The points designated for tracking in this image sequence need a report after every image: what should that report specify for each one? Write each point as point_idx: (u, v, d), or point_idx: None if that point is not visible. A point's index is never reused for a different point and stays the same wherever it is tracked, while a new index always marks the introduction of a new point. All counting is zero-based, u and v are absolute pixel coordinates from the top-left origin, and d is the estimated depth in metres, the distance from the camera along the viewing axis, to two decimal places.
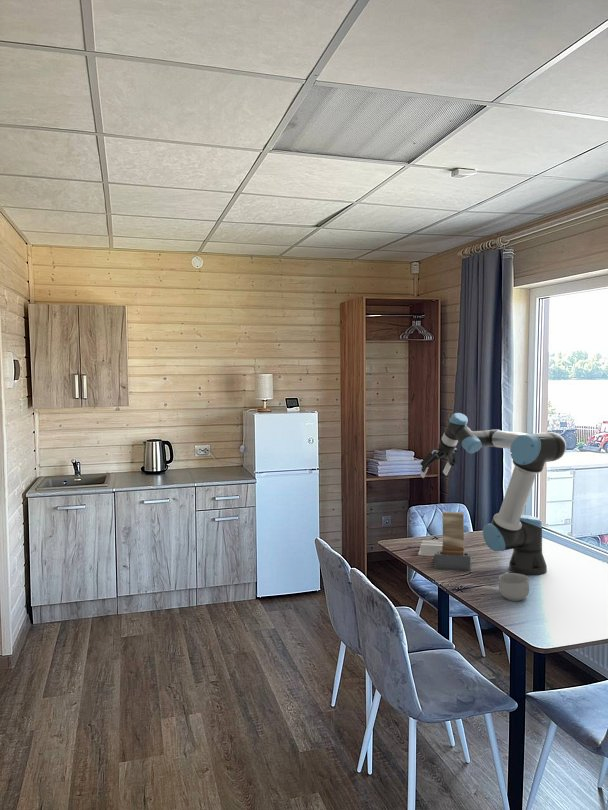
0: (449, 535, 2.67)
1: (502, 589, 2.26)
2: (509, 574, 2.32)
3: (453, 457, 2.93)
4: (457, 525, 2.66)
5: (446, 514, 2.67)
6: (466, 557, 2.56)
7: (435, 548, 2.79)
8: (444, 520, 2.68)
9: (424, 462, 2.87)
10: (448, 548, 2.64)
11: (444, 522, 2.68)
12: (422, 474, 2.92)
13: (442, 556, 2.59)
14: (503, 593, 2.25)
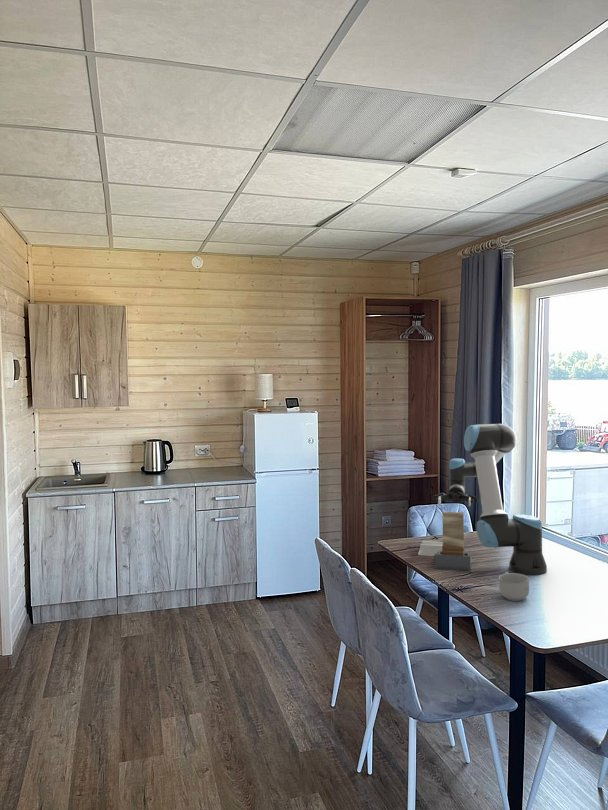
0: (449, 535, 2.67)
1: (502, 589, 2.26)
2: (509, 574, 2.32)
3: None
4: (457, 525, 2.66)
5: (446, 514, 2.67)
6: (466, 557, 2.56)
7: (435, 548, 2.79)
8: (444, 520, 2.68)
9: None
10: (448, 548, 2.64)
11: (444, 522, 2.68)
12: (438, 500, 2.80)
13: (442, 556, 2.59)
14: (503, 593, 2.25)
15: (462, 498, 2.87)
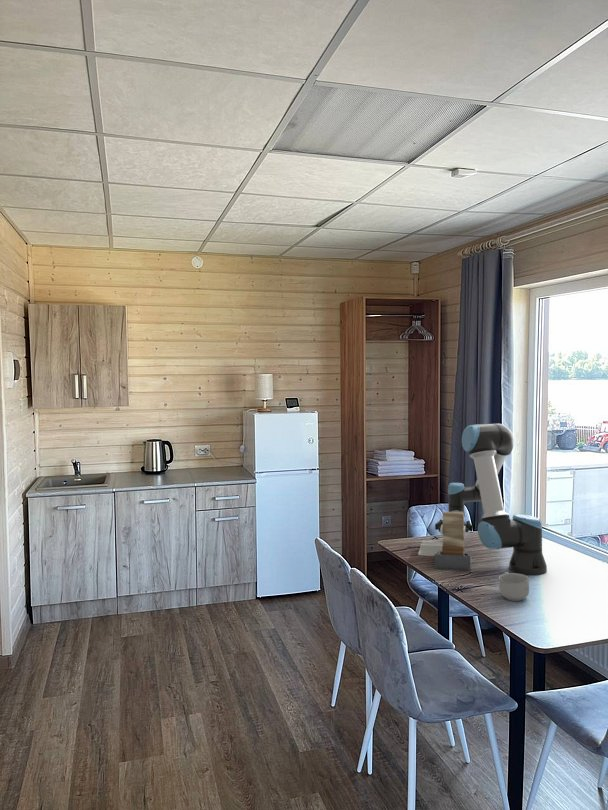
0: (449, 535, 2.67)
1: (502, 589, 2.26)
2: (509, 574, 2.32)
3: (468, 526, 2.72)
4: (457, 525, 2.66)
5: (446, 514, 2.67)
6: (466, 557, 2.56)
7: (435, 548, 2.79)
8: (444, 520, 2.68)
9: None
10: (448, 548, 2.64)
11: (444, 522, 2.68)
12: None
13: (442, 556, 2.59)
14: (503, 593, 2.25)
15: None
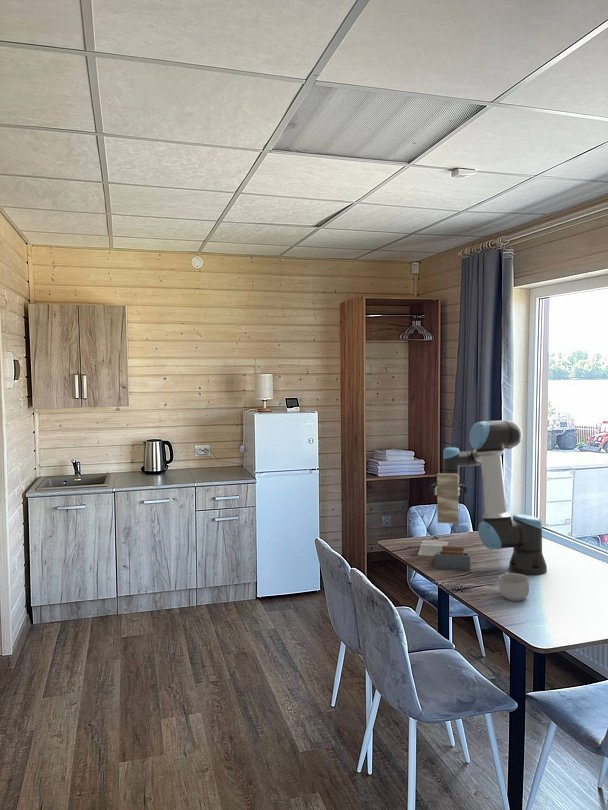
0: (443, 496, 2.70)
1: (502, 589, 2.26)
2: (509, 574, 2.32)
3: None
4: (451, 486, 2.69)
5: (441, 475, 2.70)
6: (466, 557, 2.56)
7: (435, 548, 2.79)
8: (439, 481, 2.71)
9: None
10: (448, 548, 2.64)
11: (439, 483, 2.71)
12: (435, 491, 2.69)
13: (442, 556, 2.59)
14: (503, 593, 2.25)
15: None
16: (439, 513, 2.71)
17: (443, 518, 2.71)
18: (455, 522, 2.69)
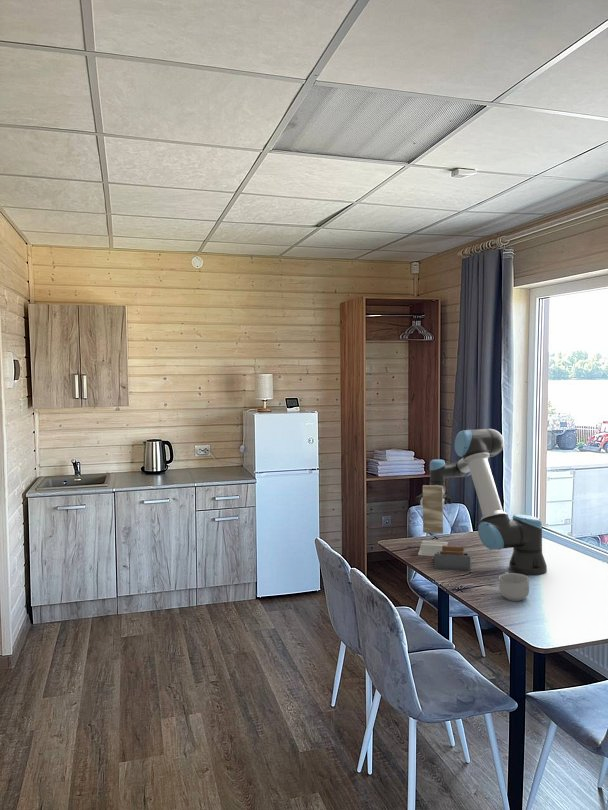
0: (428, 507, 2.82)
1: (502, 589, 2.26)
2: (509, 574, 2.32)
3: None
4: (436, 497, 2.80)
5: (426, 487, 2.81)
6: (466, 557, 2.56)
7: (435, 548, 2.79)
8: (424, 493, 2.82)
9: None
10: (448, 548, 2.64)
11: (424, 495, 2.82)
12: None
13: (442, 556, 2.59)
14: (503, 593, 2.25)
15: None
16: (424, 523, 2.82)
17: (428, 528, 2.82)
18: (440, 532, 2.81)
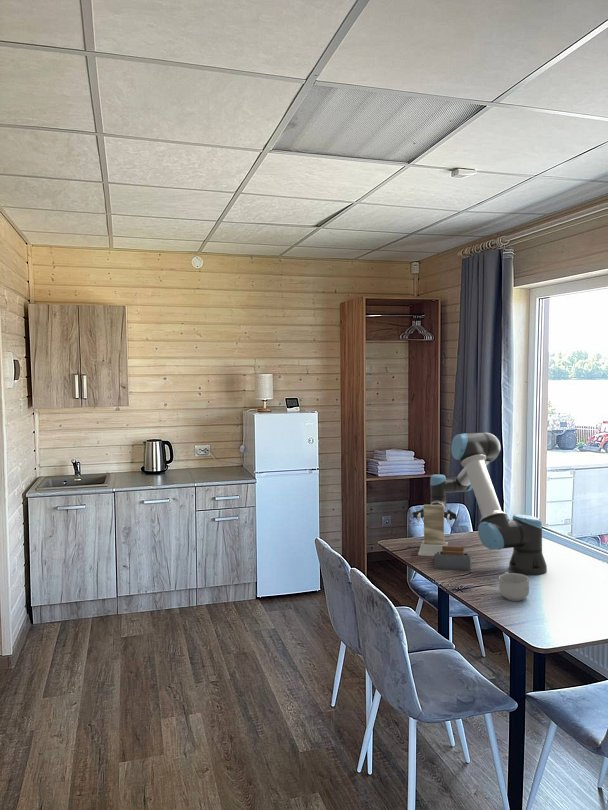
0: (429, 526, 2.81)
1: (502, 589, 2.26)
2: (509, 574, 2.32)
3: None
4: (437, 517, 2.80)
5: (427, 506, 2.81)
6: (466, 557, 2.56)
7: (435, 548, 2.79)
8: (425, 512, 2.82)
9: None
10: (448, 548, 2.64)
11: (425, 514, 2.82)
12: None
13: (442, 556, 2.59)
14: (503, 593, 2.25)
15: None
16: (426, 543, 2.82)
17: None
18: None
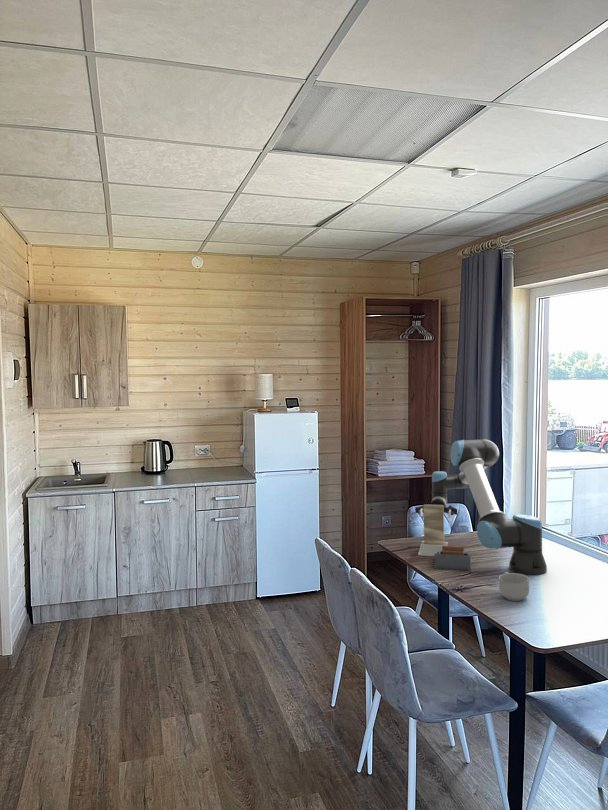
0: (429, 526, 2.81)
1: (502, 589, 2.26)
2: (509, 574, 2.32)
3: None
4: (437, 516, 2.80)
5: (427, 506, 2.81)
6: (466, 557, 2.56)
7: (435, 548, 2.79)
8: (425, 512, 2.82)
9: None
10: (448, 548, 2.64)
11: (425, 514, 2.82)
12: (419, 512, 2.92)
13: (442, 556, 2.59)
14: (503, 593, 2.25)
15: None
16: (426, 543, 2.82)
17: None
18: None
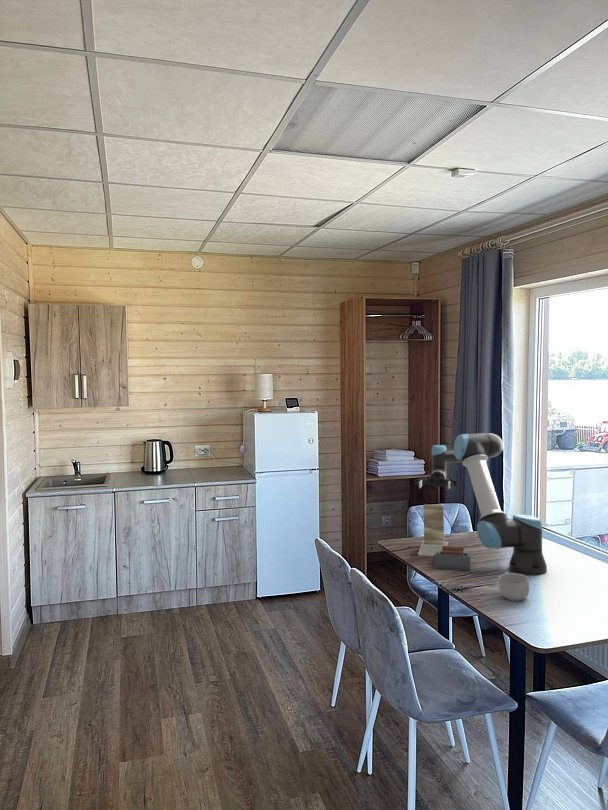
0: (429, 526, 2.81)
1: (502, 589, 2.26)
2: (509, 574, 2.32)
3: None
4: (437, 516, 2.80)
5: (427, 506, 2.81)
6: (466, 557, 2.56)
7: (435, 548, 2.79)
8: (425, 512, 2.82)
9: None
10: (448, 548, 2.64)
11: (425, 514, 2.82)
12: (419, 484, 2.91)
13: (442, 556, 2.59)
14: (503, 593, 2.25)
15: (443, 482, 2.98)
16: (426, 543, 2.82)
17: None
18: None
